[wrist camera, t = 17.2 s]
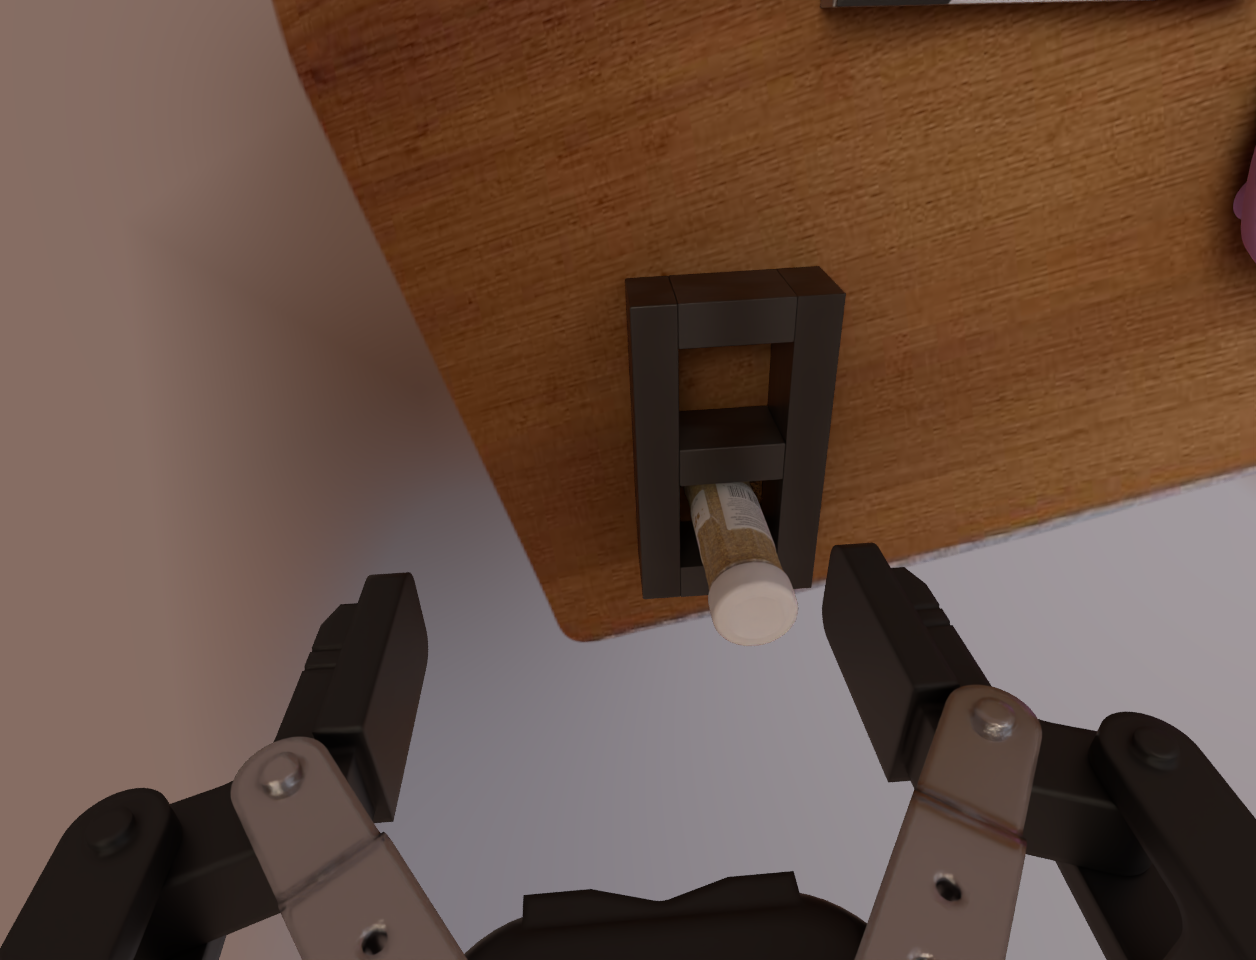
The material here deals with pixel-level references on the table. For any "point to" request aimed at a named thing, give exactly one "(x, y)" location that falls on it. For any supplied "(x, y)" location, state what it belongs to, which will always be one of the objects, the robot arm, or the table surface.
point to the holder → (731, 412)
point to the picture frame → (938, 2)
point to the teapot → (1248, 209)
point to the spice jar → (740, 564)
